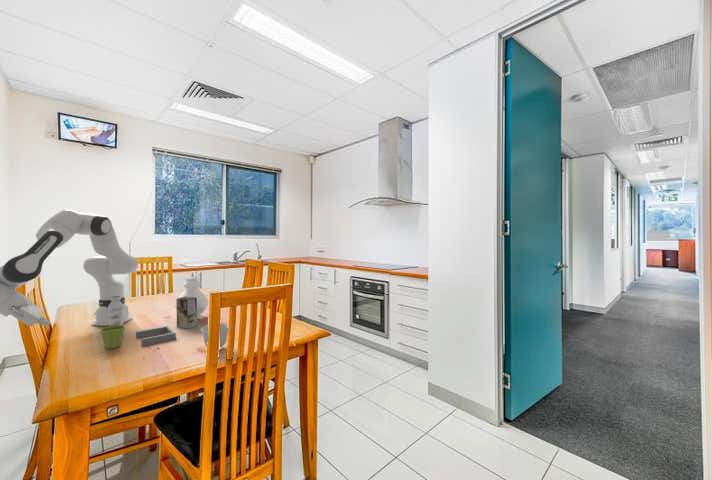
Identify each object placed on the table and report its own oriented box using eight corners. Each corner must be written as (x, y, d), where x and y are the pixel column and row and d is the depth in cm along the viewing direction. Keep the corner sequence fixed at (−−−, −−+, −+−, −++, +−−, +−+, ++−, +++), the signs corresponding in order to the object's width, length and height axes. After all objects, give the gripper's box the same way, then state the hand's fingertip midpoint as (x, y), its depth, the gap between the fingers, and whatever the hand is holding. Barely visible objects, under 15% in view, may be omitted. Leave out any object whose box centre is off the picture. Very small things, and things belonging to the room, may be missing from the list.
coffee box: (197, 325, 176) (197, 297, 175) (187, 328, 170) (187, 299, 170) (186, 323, 179) (185, 296, 179) (175, 326, 174) (175, 298, 173)
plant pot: (95, 351, 138) (94, 332, 138) (107, 343, 147) (107, 325, 147) (118, 349, 140) (118, 330, 140) (129, 342, 149) (129, 324, 149)
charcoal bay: (136, 337, 156) (136, 331, 156) (168, 331, 166) (168, 325, 165) (141, 345, 145) (141, 339, 145) (175, 338, 154) (175, 332, 154)
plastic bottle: (115, 338, 155) (115, 298, 154) (104, 336, 156) (104, 297, 155) (127, 333, 161) (127, 295, 160) (116, 332, 162) (116, 295, 162)
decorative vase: (214, 316, 195) (214, 277, 194) (189, 324, 179) (189, 281, 178) (195, 313, 202) (194, 275, 201) (168, 320, 186) (168, 278, 185)
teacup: (219, 340, 152) (219, 320, 152) (234, 348, 143) (234, 327, 142) (193, 347, 143) (193, 326, 143) (208, 356, 133) (208, 333, 133)
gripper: (19, 302, 115) (55, 323, 122) (23, 294, 130) (56, 313, 137) (1, 316, 112) (39, 337, 119) (8, 306, 127) (42, 325, 134)
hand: (48, 324), depth 128 cm, fingers closed
